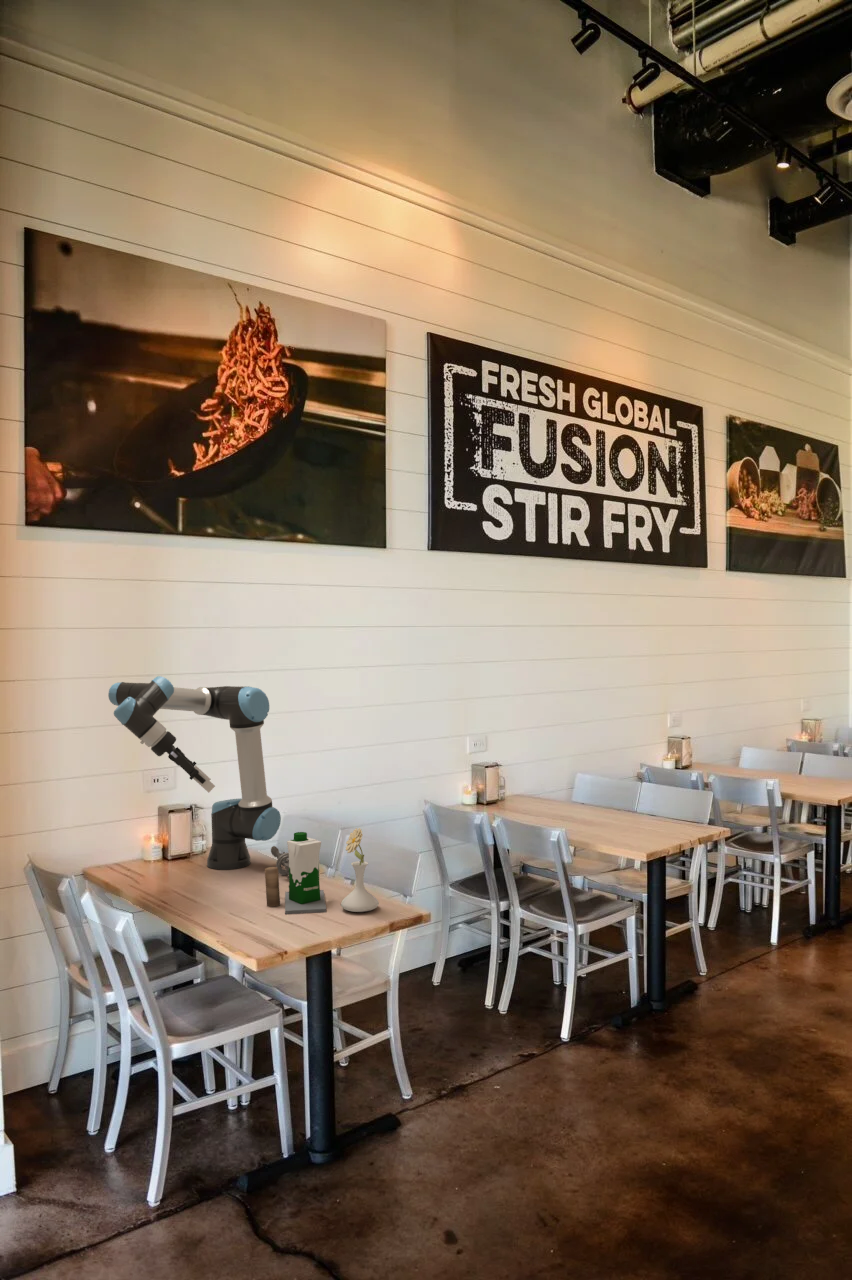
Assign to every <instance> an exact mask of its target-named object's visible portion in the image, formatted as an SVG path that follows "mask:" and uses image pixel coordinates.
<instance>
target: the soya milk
mask: <svg viewBox="0 0 852 1280" xmlns="http://www.w3.org/2000/svg"><path fill="white" fill-rule="evenodd" d="M286 845H287V851H288V852H287V853H289V858H288V859H289V878H288V892H289V899H290V900H292V901H294V902H297V903H299V904H305V903H309V902H313V901H318V900H321V898H320V890H321V888H320V887H321V886H320V851H321V846H322V841H320V840H318V839H317V838H316V839H315V838H312V837H308V833H307V832H304V831H298V832H296V831H295V832H294V833H293V839H290V840H287V841H286Z"/></svg>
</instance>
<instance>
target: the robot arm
mask: <svg viewBox="0 0 852 1280" xmlns="http://www.w3.org/2000/svg"><path fill="white" fill-rule="evenodd" d="M108 700H109V701H110V703H111V704H112V705H113V706H117V707H116V709H114V711H113V716H114V717H115V718H116V719H117V721H119V723H120V724H121V725H122V726H124V727H125V728H127V730H129V732H131V733H132V734H133V735H134V736H135V737H137V738H138V739H139V740H140V744H141V745H143V744H145V746H147V748H150V750H151V752H153V753H154V754H155V755H156V756H157V757H162V756H163V755H165V753H167V754H168V756H167V757H168V759H170V761H172V762H174V763H175V764H176V765H177V766H179V767H180V768H181V769H182V770H184V772H185V773H186V774H188V776H189V779H190V781H192V780H194V781H195V782H196V783H198V785H199V786H200V787H202V788H203V789H204V791H206V792H207V793H210V792H211V791H212V790H213V789H214V788H215V787H216V785H215V784H214V783H212V781H211V778H210V777H209V776H208V775H207V774H206V773H205V772H204V771H203V770H202V769H200V767H198V766H197V762H196V761H192V760H191V759H189V758H188V757H187V756H186V754H185V753H184V752H183V751H182V750H181V749H180V748H179V747H178V746H177V747H175V745H174V744H175V742H176V741H177V737H176V736H175V735H174V734H173V733H172V732H171V731H167V728H166V727H165V726H164V724H162V723H161V722H160V721H159V720H158V719H156V718H155V717H154V715H156V713H157V712H158V711H159V710H172V711H173V710H174V711H184V712H193V713H194V714H195V715H198V716H206V717H211V718H217V719H221V720H228V721H229V727H230V729H231V730H232V731H233V732H234V734H235V744H236V753H237V754H236V755H237V763H238V772H239V780H240V781H239V782H240V790H241V798H230V799H224V800H218V801H215V802H214V803H213V805H212V807H211V814H210V815H211V817H210V818H211V846H210V849H209V853H208V856H207V860H206V864H207V865H206V866H207V867H208V868H209V869H213V870H234V869H241V868H246V867H247V866H249V865H250V864H251V855H250V853H249V852H250V851H249V848H248V846H247V843H246V839H247V840H254V841H256V842H257V841H258V842H259V841H263V842H264V841H265V842H266V841H270V840H271V839H273V838H274V837H275V835H276V834H277V832H278V830H279V829H280V826H281V822H282V821H281V819H282V817H281V816H282V815H281V813H280V811H279V810H278V809H277V808H276V807H275V806H273V799H272V798H271V797H270V796H269V795H268V794H267V793H268V791H267V783H266V773H265V764H264V757H263V756H264V755H263V744H262V733H261V728H262V727H263V726H264V725H265V720H266V719H267V717H268V713H269V712H270V700H269V698H268V696H267V694H266V693H265V692H264V691H263V690H262V689H260V688H259V687H253V686H250V685H249V686H230V685H228V686H227V685H226V686H215V687H213V686H212V687H208V686H207V687H205V686H200V687H197V688H196V689H194V688H188V687H187V688H185V687H178V686H177V687H176V686H175V687H174V685H173V684H172V682H171V681H170V680H169V679H167V678H166V677H164V676H162V675H161V676H160V675H158V676H156V677H154V678H153V679H151V681H150V682H125V681H121V682H115V683H113V684H112V685H111V686H110V687H109V689H108Z"/></svg>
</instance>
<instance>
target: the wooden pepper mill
mask: <svg viewBox="0 0 852 1280" xmlns="http://www.w3.org/2000/svg"><path fill="white" fill-rule="evenodd" d="M264 877H265V879H264V882H265V895H266V897H265V898H266V907H270V908H271V907H272V908H273V907H275V908H276V907H278V906H280V905H281V895H280V880H279V878H280V877H279V873H278V867H276V866H270V867H266V868H264Z"/></svg>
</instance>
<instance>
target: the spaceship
mask: <svg viewBox="0 0 852 1280" xmlns="http://www.w3.org/2000/svg"><path fill="white" fill-rule="evenodd" d="M270 852H271V853H270V854H272V856H273V857H274V858H277V859H276V863H275V867H278V875H279V874H280V875H281V876H285V877H286V876H287V879H289V852H285V851H283V852H280V851H279V848H278V847H277V846H275V845H273V846H272V847H271V848H270Z"/></svg>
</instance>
